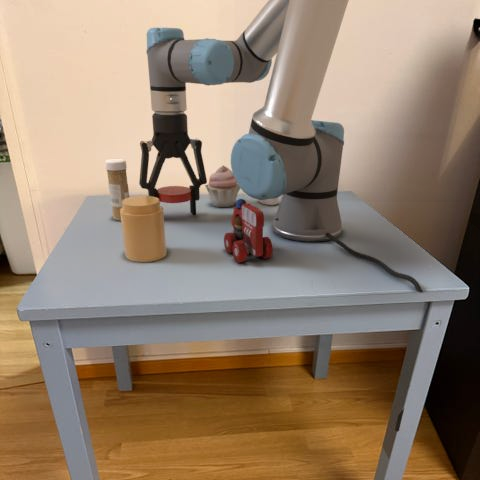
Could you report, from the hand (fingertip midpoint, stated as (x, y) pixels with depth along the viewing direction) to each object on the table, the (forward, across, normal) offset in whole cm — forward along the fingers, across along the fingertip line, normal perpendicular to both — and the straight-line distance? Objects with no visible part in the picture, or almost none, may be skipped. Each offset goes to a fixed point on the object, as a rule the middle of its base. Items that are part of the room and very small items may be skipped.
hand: (175, 215), depth 109 cm
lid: (-6, 0, 0) cm, 6 cm away
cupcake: (+1, +14, +7) cm, 16 cm away
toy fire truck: (+1, +8, -28) cm, 29 cm away
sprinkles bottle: (+1, -12, +3) cm, 13 cm away
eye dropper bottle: (+1, +26, +5) cm, 27 cm away
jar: (0, -11, -21) cm, 24 cm away
